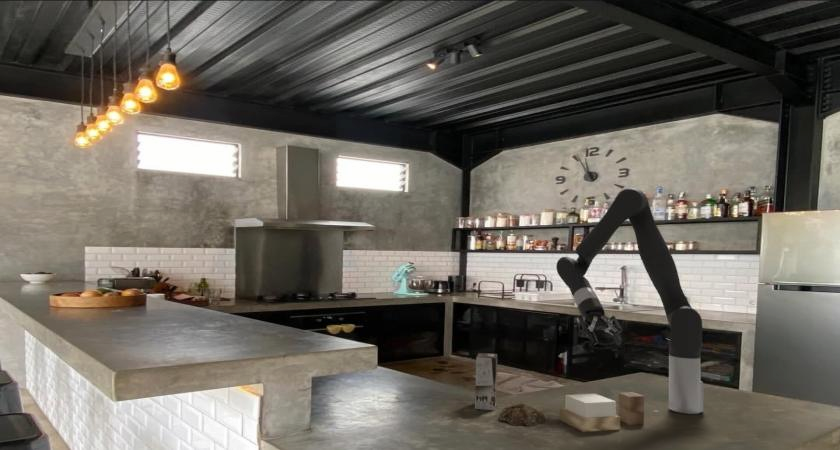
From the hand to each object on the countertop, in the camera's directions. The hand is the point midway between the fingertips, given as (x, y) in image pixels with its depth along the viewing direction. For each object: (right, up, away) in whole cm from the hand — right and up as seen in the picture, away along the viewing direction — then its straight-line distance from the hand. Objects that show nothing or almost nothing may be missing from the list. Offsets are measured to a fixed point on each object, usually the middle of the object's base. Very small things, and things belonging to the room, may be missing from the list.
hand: (607, 343), depth 180 cm
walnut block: (+3, -21, -12) cm, 24 cm away
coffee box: (-39, -20, +1) cm, 44 cm away
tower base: (-11, -20, -16) cm, 28 cm away
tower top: (-11, -16, -16) cm, 25 cm away
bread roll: (-30, -20, -14) cm, 39 cm away
